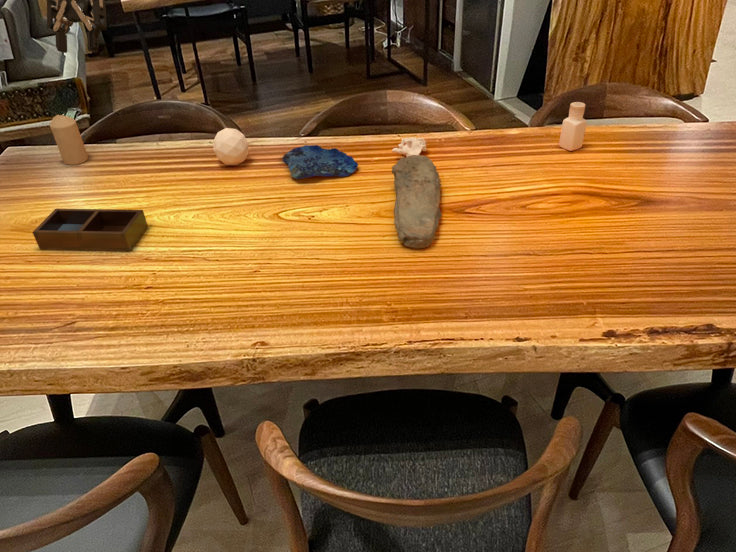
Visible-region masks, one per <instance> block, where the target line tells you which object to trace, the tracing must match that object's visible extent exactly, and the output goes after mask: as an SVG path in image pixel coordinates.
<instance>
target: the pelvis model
mask: <svg viewBox="0 0 736 552" xmlns="http://www.w3.org/2000/svg"><path fill="white" fill-rule="evenodd" d="M427 145H428V141H427V140H426V139H425V138H423V137H416V136H415V137H414V136H411V137H405V138H401V142H400V143H398V145H397V147H394V148H392V149H391V151H392V153H394V154H395V153H397V154H399V155H403V156H406V157H408V156H411V155H421V152H427ZM406 157H405V158H406Z"/></svg>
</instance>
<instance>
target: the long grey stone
mask: <svg viewBox="0 0 736 552" xmlns="http://www.w3.org/2000/svg"><path fill="white" fill-rule="evenodd" d="M391 174H393V178H394V179H393V180H394V181H393V186H394V192H395V201H394V207H393V214H394V215H393V216H394V220H393V223H394V228H395V230H396V232H397V238H398V242H401V243H402V244H403V245H404V246H406V247H407V248H411V249H424V248H428V247H430V245H432V243H433V241H434V240H435V238H436V236H437V235H436V231H438V230H439V228H440V227H439V222H440V219H441V217H442V212H441V209H440V202H441V191H442V189H441V186H442V185H441V184H442V183H441V182H442V180H441V178H440V174H439V172H438V171H437V166H436V165H435V164H434V162H433V160H432V159H430V158H429V157H427V155H421V154H419V155H411V156H408V157H401V158H400V159H398V160H397V161H396V163H395V164H393V165H392V167H391Z"/></svg>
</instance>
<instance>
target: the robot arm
mask: <svg viewBox="0 0 736 552" xmlns="http://www.w3.org/2000/svg"><path fill="white" fill-rule="evenodd" d="M80 22H81V23H83V24H84V25H85V27H86V29H87V30H88V31H86V41H87V42H86V46H87V47H86V48H87V51H88V52H91V53H93V54H95V53H96V54H98V53H99V52H98V51H99V49H100V45H99V44H100V43H99V42H100V41H99V40H100V38H99V35H100V33H101V32H102V31H104V32H105V31H107V30H108V25H107V24H108V23H107V6H106V1H105V0H46V27H47V29H49V30H52V31H53V32H54V35H55V47H56V51H58V52H60V53H63V54H67V53H68V35H67V32H68V31H69V28H71V27H72V26H73V25H74V23H75V24H77V23H80Z"/></svg>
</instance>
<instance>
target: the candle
mask: <svg viewBox="0 0 736 552" xmlns="http://www.w3.org/2000/svg"><path fill="white" fill-rule="evenodd" d="M49 128H50V130H51V132H52V135H53V138H54V140H55V144H56V147H57V149H58V151H59V154H60V157H61V160H62V161H63V163H64V164H65V165H71V166H73V165H80V164H82V163H85V162H86V161H87V160H88V159H89V156H88V152H87V150H86V146H85V144H84V141H83V138H82V134H81V132H80V130H79V127H78V124H77V121H76V119H74V118H72V117H70V116H66V115H62V114H56V115H55V116H53V118H52V119H51V121H50V122H49Z"/></svg>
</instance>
